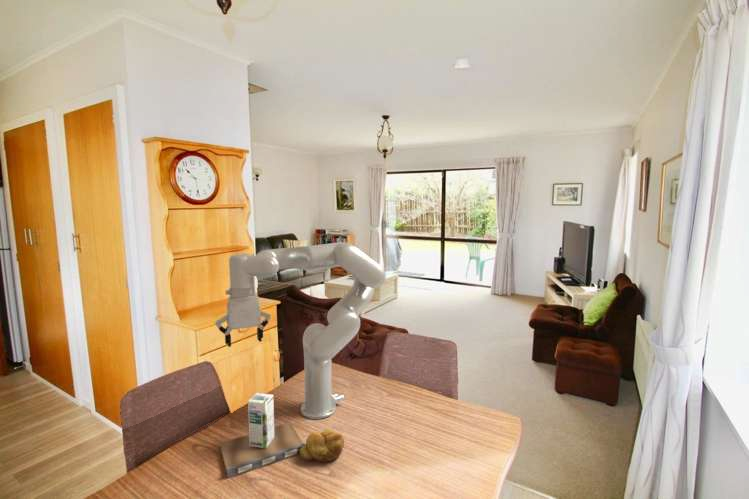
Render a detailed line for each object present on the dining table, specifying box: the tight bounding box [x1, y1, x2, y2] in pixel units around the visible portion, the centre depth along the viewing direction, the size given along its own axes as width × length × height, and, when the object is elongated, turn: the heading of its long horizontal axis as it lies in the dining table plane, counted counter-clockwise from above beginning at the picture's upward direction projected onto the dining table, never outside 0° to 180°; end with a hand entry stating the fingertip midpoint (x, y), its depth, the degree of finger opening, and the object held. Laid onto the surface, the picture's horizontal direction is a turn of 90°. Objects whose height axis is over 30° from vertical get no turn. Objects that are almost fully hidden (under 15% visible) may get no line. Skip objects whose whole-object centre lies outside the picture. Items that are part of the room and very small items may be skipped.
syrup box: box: [247, 392, 275, 449], centre depth 114 cm, size 6×6×14 cm
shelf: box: [219, 421, 306, 479], centre depth 114 cm, size 22×15×2 cm
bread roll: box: [299, 428, 345, 463], centre depth 111 cm, size 13×10×8 cm
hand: (244, 342), depth 124 cm, fingers open, 9 cm apart
